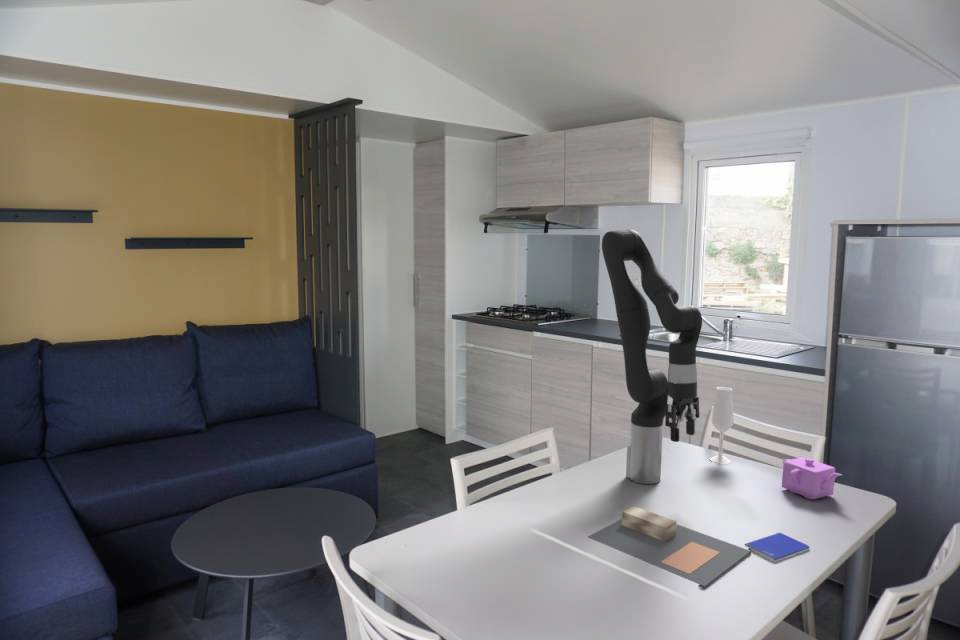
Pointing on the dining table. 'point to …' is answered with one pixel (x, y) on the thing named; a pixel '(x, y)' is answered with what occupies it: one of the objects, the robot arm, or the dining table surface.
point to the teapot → (808, 477)
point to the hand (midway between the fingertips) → (682, 437)
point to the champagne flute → (722, 418)
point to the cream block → (649, 523)
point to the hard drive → (777, 547)
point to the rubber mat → (676, 551)
